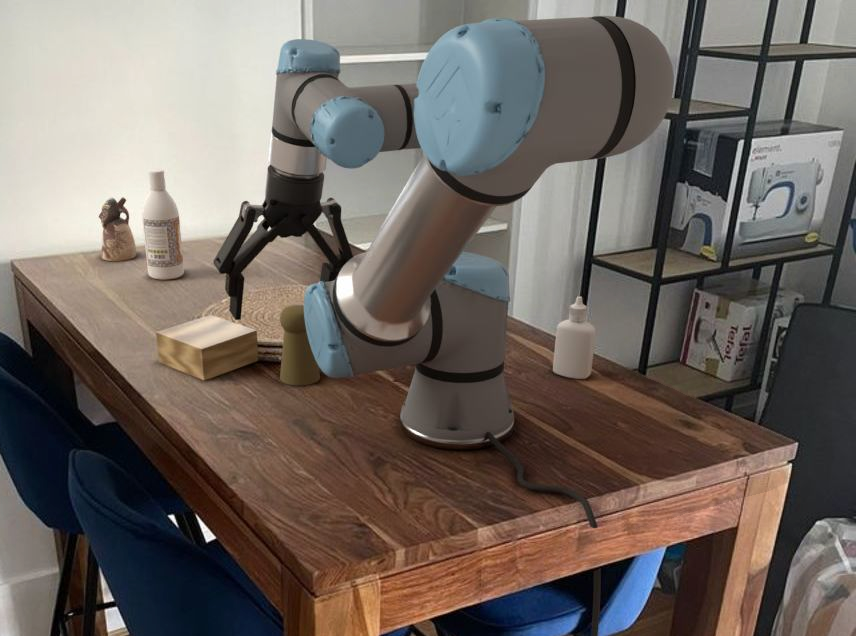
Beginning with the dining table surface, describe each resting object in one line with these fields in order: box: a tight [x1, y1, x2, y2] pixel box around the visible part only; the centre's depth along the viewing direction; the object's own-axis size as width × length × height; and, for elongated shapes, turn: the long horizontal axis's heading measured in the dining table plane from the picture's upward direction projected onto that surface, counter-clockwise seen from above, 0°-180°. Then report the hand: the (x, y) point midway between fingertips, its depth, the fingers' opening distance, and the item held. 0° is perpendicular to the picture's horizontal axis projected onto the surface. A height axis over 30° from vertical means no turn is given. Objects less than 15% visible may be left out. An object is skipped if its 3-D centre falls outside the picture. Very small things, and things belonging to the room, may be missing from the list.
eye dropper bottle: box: [552, 295, 596, 380], centre depth 150 cm, size 4×6×12 cm
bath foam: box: [141, 168, 185, 281], centre depth 194 cm, size 7×7×20 cm
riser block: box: [155, 314, 259, 381], centre depth 158 cm, size 11×11×5 cm
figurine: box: [98, 196, 137, 262], centre depth 208 cm, size 7×7×12 cm
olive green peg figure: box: [279, 304, 321, 386], centre depth 150 cm, size 6×6×11 cm
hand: (279, 311), depth 146 cm, fingers open, 13 cm apart
